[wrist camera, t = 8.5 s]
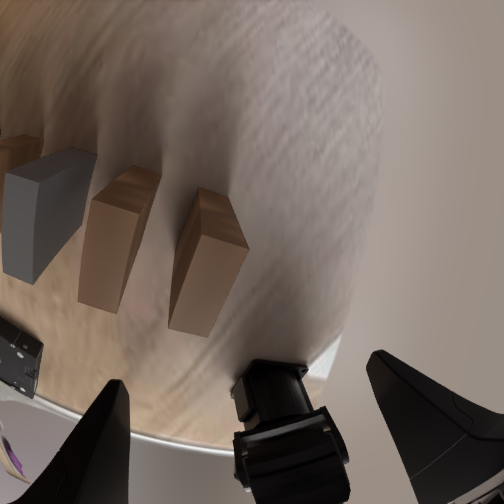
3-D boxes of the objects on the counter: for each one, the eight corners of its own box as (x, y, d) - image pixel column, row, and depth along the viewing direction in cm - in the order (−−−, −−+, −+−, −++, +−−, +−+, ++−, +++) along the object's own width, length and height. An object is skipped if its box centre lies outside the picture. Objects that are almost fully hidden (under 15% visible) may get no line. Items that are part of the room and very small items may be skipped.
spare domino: (97, 154, 15) (39, 182, 8) (81, 224, 16) (32, 285, 10) (72, 147, 14) (5, 172, 7) (58, 217, 16) (3, 272, 9)
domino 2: (162, 174, 16) (139, 214, 10) (140, 243, 18) (116, 314, 11) (133, 165, 15) (92, 199, 9) (114, 235, 17) (77, 301, 11)
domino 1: (228, 197, 18) (249, 249, 11) (201, 262, 19) (208, 337, 13) (199, 187, 17) (201, 234, 10) (174, 254, 19) (167, 328, 12)
